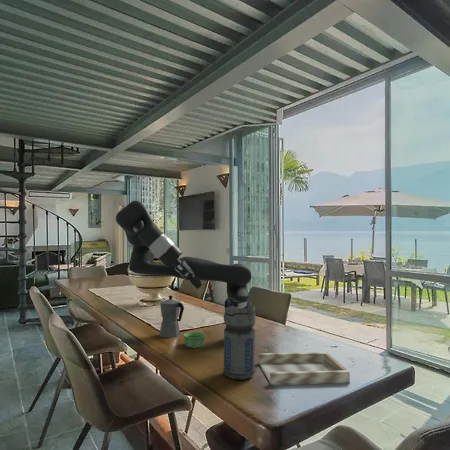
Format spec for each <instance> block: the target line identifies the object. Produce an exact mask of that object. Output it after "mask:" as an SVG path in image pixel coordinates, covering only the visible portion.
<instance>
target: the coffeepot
mask: <svg viewBox="0 0 450 450" xmlns="http://www.w3.org/2000/svg"><path fill="white" fill-rule="evenodd" d="M159 307H160V313H161V318H162V321H161V325H160V329H159V336H161V337H160V338H163V337H167V338H166V339H172V338H171V337H175V338H178V337H179V336H180V335H181V334H180V333H181V331H180V326H179V322H181V321H182V318H183V313H184V310H185V306H184V305H183V303H182V302H181V301H180V300H176V299H173V295H168V299H165V300H160V302H159ZM177 336H178V337H177Z"/></svg>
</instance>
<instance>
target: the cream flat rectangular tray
mask: <svg viewBox="0 0 450 450" xmlns="http://www.w3.org/2000/svg"><path fill="white" fill-rule="evenodd" d="M258 365H259V366H260V369H261V370H262V372H263V373H264V375H265V378H266V380H267V381H268V382H269V384H270V386H289V385H291V386H294V385H295V386H296V385H298V386H299V385H326V384H329V385H330V384H351V375H350V373H351V372H350V371H349V370H348V369H347V367H345V366H344V365H342V364H341V363H340V362H339V361H337V359H336V358H334V357H333V356H332V355H330V354H329V353H328V352H324V351H323V352H317V351H316V352H275V353H274V352H268V353H266V352H265V353H258Z"/></svg>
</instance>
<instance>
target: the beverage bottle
mask: <svg viewBox="0 0 450 450" xmlns="http://www.w3.org/2000/svg"><path fill="white" fill-rule="evenodd" d="M238 303H241V302H240V301H236V299H234V298H231V297H230V298H228V297H227V298H226V299H225V301H224V314H223V322H224V325H225V328H224V330H223V374H224V375H225V376H226V378H227V377H228V378H229V379H232V380H237V381H239V380H240V381H241V380H243V381H244V380H246V379H247V380H248V379H251V378H252V377H253V376H254V374H255V371H256V370H255V366H256V363H255V362H256V359H255V358H256V356H255V355H256V329H255V328H253V327H254V326H255V324H256V306H255V305H254V304H253V302H252V300H251V299H249V300H247V305H238Z"/></svg>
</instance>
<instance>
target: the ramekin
mask: <svg viewBox="0 0 450 450" xmlns="http://www.w3.org/2000/svg"><path fill="white" fill-rule="evenodd" d="M205 338H206V334H205V333H204V332H201V331H189V332H186V333H184V334H183V339H184V347H186V346H187V347H186V348H189V347H192V348H191V349H197V348H196V347H199V348H202V347H204V345H205Z"/></svg>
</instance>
